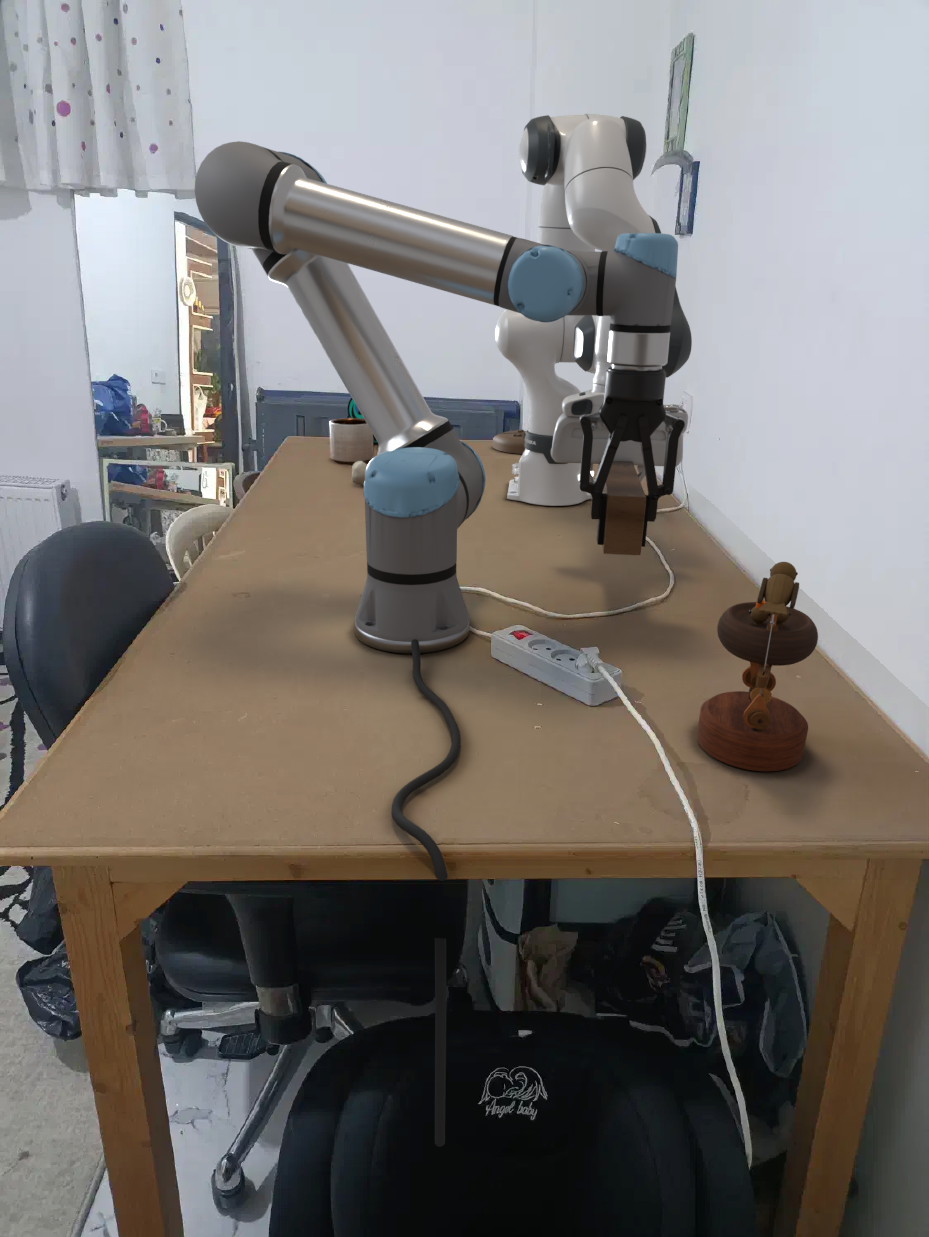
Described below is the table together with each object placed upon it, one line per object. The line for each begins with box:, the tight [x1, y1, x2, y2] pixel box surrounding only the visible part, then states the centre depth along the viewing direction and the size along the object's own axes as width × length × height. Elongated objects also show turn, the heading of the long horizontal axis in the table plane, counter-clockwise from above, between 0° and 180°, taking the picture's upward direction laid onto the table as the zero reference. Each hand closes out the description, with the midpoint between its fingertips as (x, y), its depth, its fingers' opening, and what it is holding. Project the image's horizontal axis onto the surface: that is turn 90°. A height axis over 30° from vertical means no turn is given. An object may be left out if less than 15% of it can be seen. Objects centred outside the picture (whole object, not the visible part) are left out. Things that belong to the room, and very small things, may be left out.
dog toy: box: [350, 461, 368, 485], centre depth 190 cm, size 20×6×5 cm, turn 99°
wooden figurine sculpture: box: [696, 561, 819, 772], centre depth 84 cm, size 15×11×20 cm
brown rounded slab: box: [492, 428, 527, 455], centre depth 225 cm, size 21×28×4 cm
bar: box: [597, 461, 647, 556], centre depth 124 cm, size 28×5×8 cm, turn 174°
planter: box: [328, 417, 375, 464], centre depth 212 cm, size 11×11×10 cm
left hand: (620, 542), depth 116 cm, fingers closed on bar, 5 cm apart
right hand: (612, 491), depth 134 cm, fingers closed on bar, 5 cm apart
